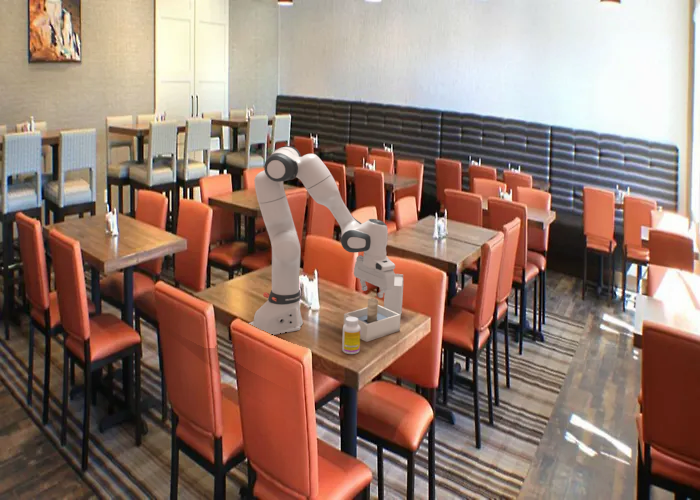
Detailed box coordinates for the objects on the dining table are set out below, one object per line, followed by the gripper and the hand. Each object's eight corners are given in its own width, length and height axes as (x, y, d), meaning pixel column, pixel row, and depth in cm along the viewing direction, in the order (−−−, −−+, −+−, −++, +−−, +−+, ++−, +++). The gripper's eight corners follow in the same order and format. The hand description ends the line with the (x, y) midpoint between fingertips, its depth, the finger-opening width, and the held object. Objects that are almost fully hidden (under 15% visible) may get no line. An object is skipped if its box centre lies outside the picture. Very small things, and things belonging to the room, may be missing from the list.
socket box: (366, 341, 226) (367, 325, 224) (343, 329, 236) (344, 313, 234) (399, 330, 237) (400, 314, 235) (376, 319, 247) (377, 304, 245)
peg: (371, 330, 234) (372, 302, 230) (364, 327, 237) (365, 299, 233) (378, 328, 236) (379, 300, 233) (372, 325, 239) (373, 297, 236)
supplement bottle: (362, 353, 216) (363, 321, 212) (345, 355, 214) (346, 323, 210) (356, 346, 222) (357, 314, 218) (339, 348, 220) (340, 316, 216)
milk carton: (399, 319, 249) (402, 277, 243) (383, 317, 250) (385, 275, 245) (401, 313, 255) (404, 272, 250) (385, 311, 257) (387, 270, 251)
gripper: (351, 254, 234) (349, 287, 238) (386, 268, 219) (383, 303, 223) (363, 252, 238) (360, 284, 242) (398, 266, 223) (395, 300, 227)
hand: (372, 293), depth 232 cm, fingers open, 8 cm apart
